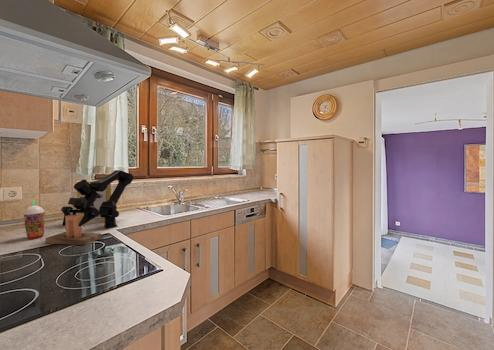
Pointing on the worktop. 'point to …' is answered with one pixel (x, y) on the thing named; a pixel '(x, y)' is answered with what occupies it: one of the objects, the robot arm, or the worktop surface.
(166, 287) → the worktop surface
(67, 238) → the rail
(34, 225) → the smoothie
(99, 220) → the pasta box
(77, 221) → the clip
